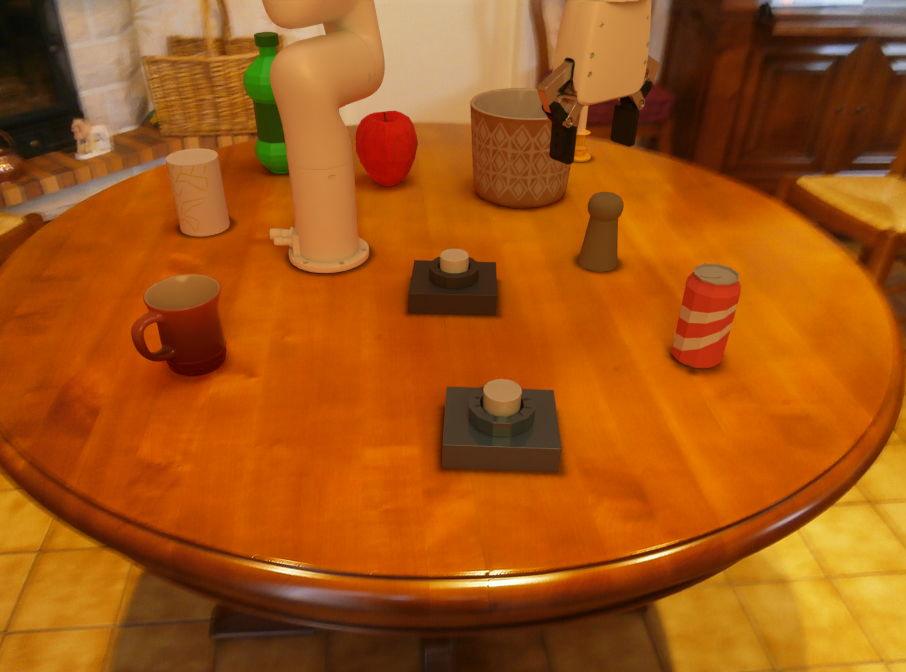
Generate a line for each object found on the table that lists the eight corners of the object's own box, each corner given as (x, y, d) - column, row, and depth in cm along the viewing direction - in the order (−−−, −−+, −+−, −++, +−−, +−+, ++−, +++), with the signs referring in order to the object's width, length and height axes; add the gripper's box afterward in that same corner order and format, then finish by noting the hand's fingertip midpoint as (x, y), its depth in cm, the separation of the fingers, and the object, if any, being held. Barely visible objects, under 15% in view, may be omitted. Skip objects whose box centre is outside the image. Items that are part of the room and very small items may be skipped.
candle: (576, 152, 156) (585, 75, 147) (595, 158, 153) (606, 80, 144) (560, 157, 154) (568, 79, 145) (579, 164, 150) (588, 84, 141)
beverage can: (664, 344, 96) (682, 261, 89) (714, 345, 95) (736, 261, 88) (675, 371, 91) (695, 285, 84) (727, 372, 90) (752, 286, 83)
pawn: (617, 273, 112) (628, 204, 105) (576, 269, 113) (585, 201, 106) (617, 255, 116) (627, 189, 110) (578, 252, 117) (587, 186, 111)
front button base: (442, 468, 76) (442, 431, 73) (446, 408, 85) (446, 373, 82) (558, 472, 76) (563, 435, 73) (551, 412, 84) (555, 376, 81)
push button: (439, 274, 101) (439, 260, 100) (440, 261, 105) (440, 248, 103) (468, 275, 101) (468, 261, 100) (468, 261, 105) (469, 248, 103)
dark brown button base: (409, 313, 102) (408, 281, 99) (414, 279, 110) (414, 248, 107) (495, 316, 101) (497, 283, 98) (495, 281, 109) (496, 250, 107)
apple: (384, 167, 149) (381, 99, 141) (431, 179, 143) (431, 109, 135) (345, 184, 141) (340, 113, 133) (393, 198, 135) (390, 125, 128)
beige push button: (482, 416, 76) (483, 400, 75) (482, 393, 79) (483, 378, 78) (521, 418, 76) (522, 402, 75) (519, 394, 79) (521, 379, 78)
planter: (587, 187, 140) (599, 97, 131) (543, 222, 127) (552, 125, 117) (498, 167, 149) (503, 82, 139) (448, 198, 135) (449, 106, 126)
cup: (170, 231, 123) (154, 161, 116) (200, 213, 130) (187, 145, 123) (210, 239, 121) (197, 168, 114) (239, 220, 127) (228, 152, 120)
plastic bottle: (258, 161, 151) (239, 29, 137) (309, 159, 152) (296, 28, 138) (253, 179, 143) (233, 40, 129) (308, 176, 144) (294, 39, 130)
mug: (200, 337, 97) (184, 267, 91) (249, 357, 93) (236, 285, 87) (125, 383, 88) (102, 309, 82) (175, 406, 85) (156, 331, 79)
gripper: (641, -31, 79) (619, 129, 89) (521, -17, 71) (512, 158, 81) (699, -24, 74) (669, 145, 84) (577, -8, 66) (560, 178, 76)
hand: (592, 151), depth 82 cm, fingers open, 9 cm apart
